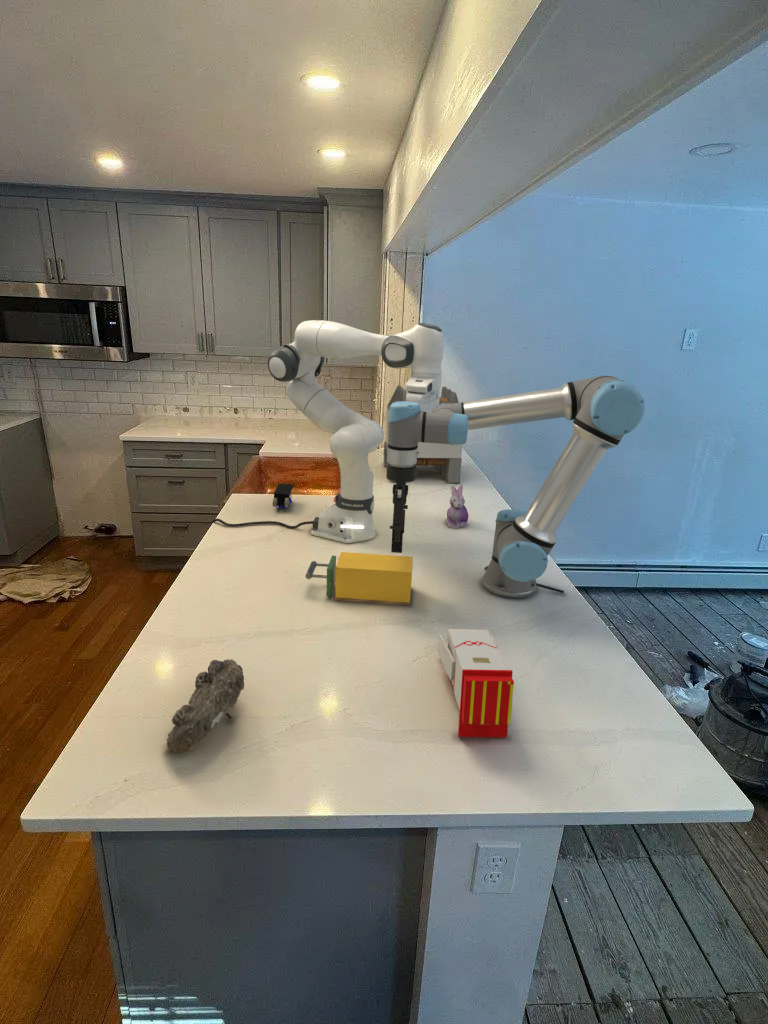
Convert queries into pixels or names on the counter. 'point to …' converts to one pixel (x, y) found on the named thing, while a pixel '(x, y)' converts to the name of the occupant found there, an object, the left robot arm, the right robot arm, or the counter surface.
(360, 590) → the cabinet
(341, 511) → the left robot arm
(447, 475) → the transformer
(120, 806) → the counter surface
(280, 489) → the figurine character
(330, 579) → the drawer
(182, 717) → the fossil
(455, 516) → the figurine
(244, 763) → the counter surface
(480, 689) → the toy
